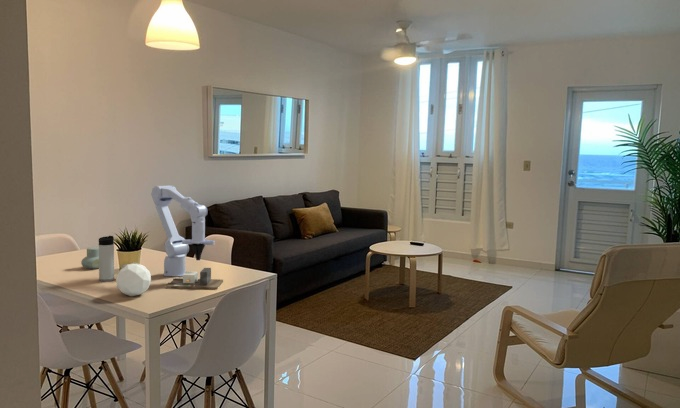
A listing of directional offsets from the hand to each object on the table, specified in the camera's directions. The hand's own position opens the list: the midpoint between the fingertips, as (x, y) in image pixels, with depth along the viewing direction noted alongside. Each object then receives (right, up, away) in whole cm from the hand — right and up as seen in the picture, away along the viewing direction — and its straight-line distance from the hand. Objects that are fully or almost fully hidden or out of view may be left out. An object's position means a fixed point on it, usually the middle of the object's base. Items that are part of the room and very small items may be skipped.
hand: (198, 259), depth 236 cm
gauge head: (-1, -9, -10) cm, 13 cm away
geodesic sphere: (-20, -12, -25) cm, 34 cm away
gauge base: (+1, -10, -8) cm, 13 cm away
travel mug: (-40, -9, -5) cm, 41 cm away
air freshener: (-57, -6, +16) cm, 59 cm away
